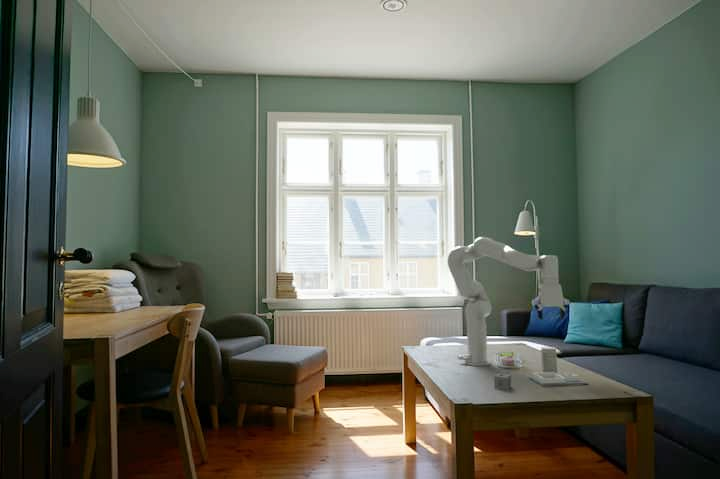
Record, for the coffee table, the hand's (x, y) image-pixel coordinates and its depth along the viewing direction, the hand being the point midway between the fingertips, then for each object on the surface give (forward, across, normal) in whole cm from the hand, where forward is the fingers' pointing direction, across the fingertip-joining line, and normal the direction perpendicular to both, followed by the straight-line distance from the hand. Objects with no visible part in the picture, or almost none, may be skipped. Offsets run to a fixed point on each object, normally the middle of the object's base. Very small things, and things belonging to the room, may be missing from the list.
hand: (551, 318), depth 215 cm
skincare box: (+25, -3, -5) cm, 25 cm away
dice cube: (+25, -30, -24) cm, 46 cm away
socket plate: (+25, -4, -16) cm, 29 cm away
